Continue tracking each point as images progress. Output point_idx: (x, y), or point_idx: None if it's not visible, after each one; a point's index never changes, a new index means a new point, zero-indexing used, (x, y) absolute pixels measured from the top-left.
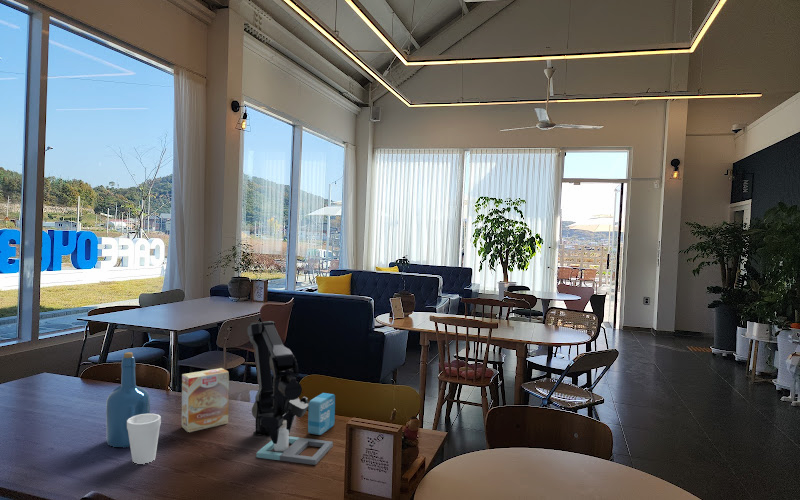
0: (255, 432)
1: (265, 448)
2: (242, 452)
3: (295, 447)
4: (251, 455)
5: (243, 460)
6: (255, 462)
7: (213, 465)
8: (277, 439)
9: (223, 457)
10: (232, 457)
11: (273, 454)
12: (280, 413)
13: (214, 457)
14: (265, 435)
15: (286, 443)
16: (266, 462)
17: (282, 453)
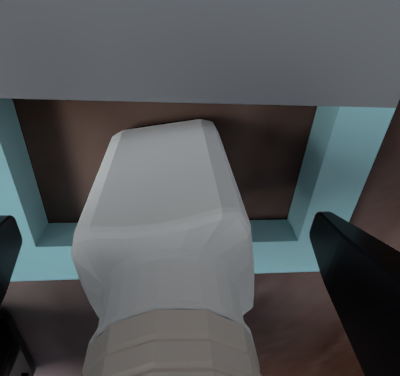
0: (20, 373)
1: (260, 254)
2: (258, 319)
3: (188, 27)
4: (291, 276)
5: None
6: (387, 224)
7: None
8: (353, 234)
9: (319, 347)
10: (318, 325)
11: (368, 165)
12: None
13: (319, 366)
14: (15, 328)
15: (203, 143)
16: (396, 169)
17: (351, 102)
